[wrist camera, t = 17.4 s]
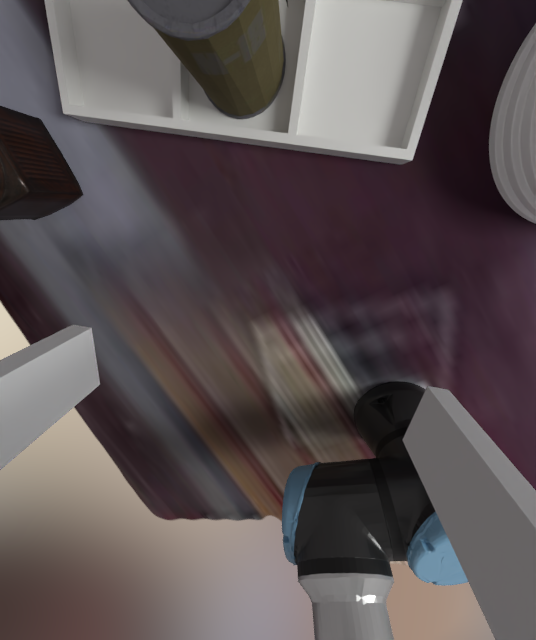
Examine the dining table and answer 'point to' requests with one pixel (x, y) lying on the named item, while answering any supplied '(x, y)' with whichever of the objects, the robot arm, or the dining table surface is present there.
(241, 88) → the canister
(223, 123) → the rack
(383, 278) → the dining table surface
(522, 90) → the plate stack
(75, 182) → the pepper mill
